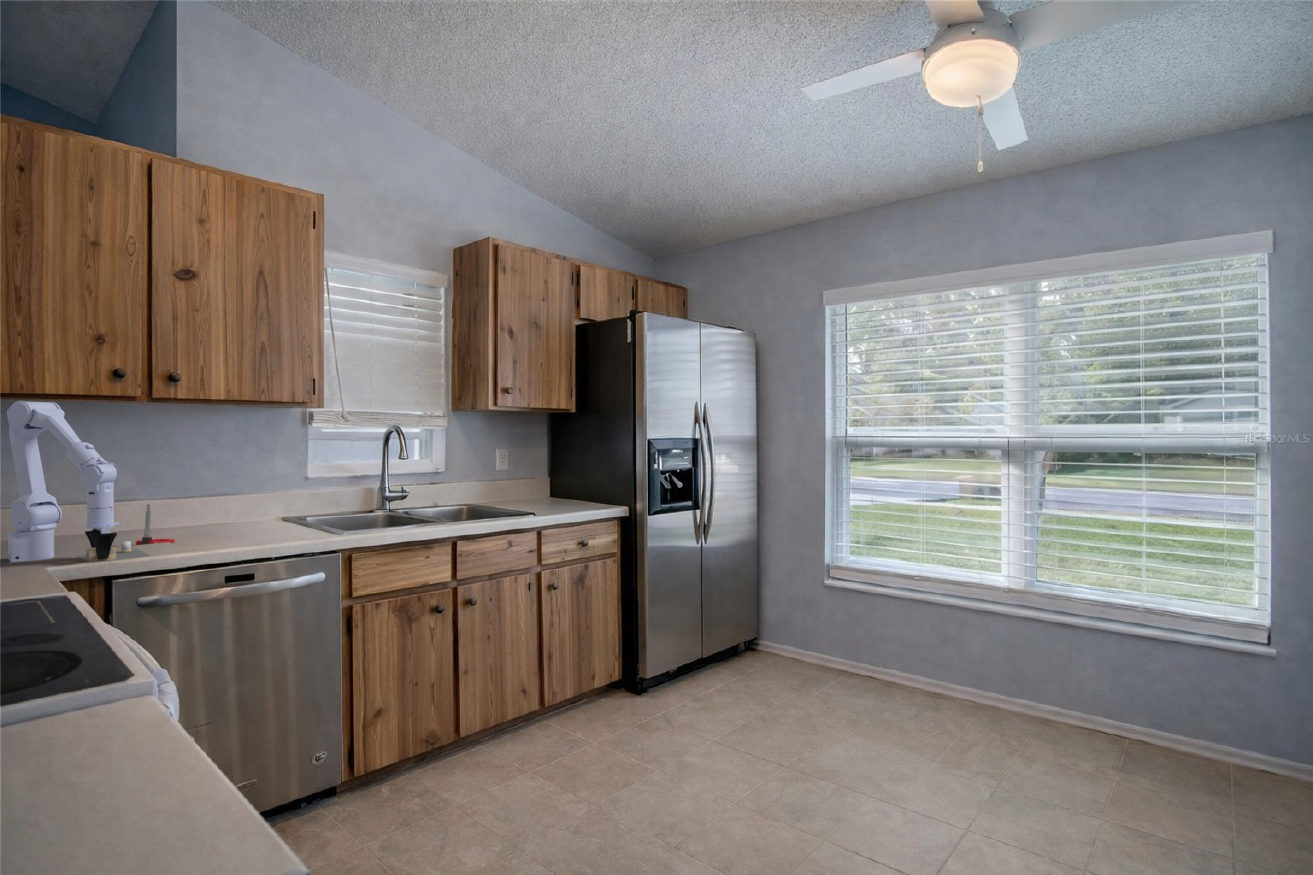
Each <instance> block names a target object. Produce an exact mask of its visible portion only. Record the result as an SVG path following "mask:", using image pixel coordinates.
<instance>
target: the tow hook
mask: <svg viewBox="0 0 1313 875" xmlns="http://www.w3.org/2000/svg"><path fill="white" fill-rule="evenodd" d="M150 508H151V504H149V503H148V504H146V511H145V520H144V521H145V522H144V529H143V537H141V540H140V539H138V540H136V541H135V545H137V546H143V545H152V544H153V545H154V544H162V543H170V544H173V543H175V541H176V540H175V539H173V538H155V539H153V536H151V509H150ZM172 542H173V543H172Z"/></svg>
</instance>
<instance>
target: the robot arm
mask: <svg viewBox="0 0 1313 875" xmlns="http://www.w3.org/2000/svg"><path fill="white" fill-rule="evenodd" d="M6 416H7V421H8V426H9V428H8V436H9V442H10V446H11V452H12V453H11V454H12V457H13V463H14V470H15V474H16V475H15V476H16V480H17V486H18V490H19V497H17V498H16V499H15V500H14V501H13V502H12V503H10V509H11V512H10V516H9V520H10V523H11V525H12V527H13V528H14V529H15V530H14V531H9V532H8V536H7V538H8V541H7V542H8V544H7V546H8V547H7V550H8V552H7V560H8V561H9V562H10V563H17V562H26V561H27V562H29V561H38V560H40V561H41V560H48V559H52V558H54V557H55V528H57V524H59V523H60V522H61V520H62V517H63V511H62V509H61V508H60V506H59V505H58V502H57V498H56V497H55V496H53V495H51V494H49V493H48V491H47V488H46V481H45V477H44V471H43V465H42V458H41V454H40V449H39V448H40V447H39V444H38V442H39V441H38V436H39V435H40V434H41V433H43V432H45V431H46V430H47V431H49V432H50V434H52V436H54V437H55V438H56V439H57V440H58V441H59V442H60V443H61V444H62V445H63V446H64V447H65V448H66V449H67V450H66V456H67V457H68V458H69V460H70V461H71V462H72V463H73V464H74V465H75V466H76V468H77V469H78V470H79V471H80V472H81V474H80V475H79V478H80V480H81V482H82V483H83V485H84V490H85V492H86V524H85V527H86V529H91V530H86V531H84V534H85V536H86V538H87V539H88V541H89V545H90V548H94V547H95V548H96V553H97V557H98V559H108V557H109V554H110V550H111V546H113V543H114V541H115V539H116V537H117V536H118V532H117V531H116V532H112V528H113V527H115V526H119V525H120V522H118V521H116V522H115V507H114V506H115V499H114V498H115V497H114V495H115V494H114V492H115V491H114V487H115V486H114V484H115V483H116V482H117V481H118V479H119V478H120V471H119V468H118V467H117V465H116V464H115V463H113V462H109V461H107V460H105V459H104V457H102V456H101V455H100V453H98V451H97V450H96V449H95V446H94V445H93V444H90V443H89V442H85V441H83V442H82V440H81V439H80V438H79V436H78V435H77V434H76V432H75V431H74V430H73V428H72V426H71V425H70V424H69V423H68V422H67V420H66V419H65V411H64V410H63V409H62V408H61V406H60V405H59V404H58V403H56V402H54V401H46V402H45V401H24V400H18V401H15V402H13V404H11V406H10V407H9V408H8V409H7V411H6Z"/></svg>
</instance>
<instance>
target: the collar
mask: <svg viewBox="0 0 1313 875" xmlns="http://www.w3.org/2000/svg"><path fill="white" fill-rule="evenodd" d="M116 551H117V548H116V547H115V546H113V545H112V546H111V550H110V554H109V557H108V559H98V557H97V553H96V548H95V547H94V548H91V547H85V554H86V560H88V561H89V562H94V563H96V562H95V561H102V562H104V561H103V560H111V561H113V560H112V559H116Z"/></svg>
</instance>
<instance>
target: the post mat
mask: <svg viewBox="0 0 1313 875" xmlns="http://www.w3.org/2000/svg"><path fill="white" fill-rule="evenodd" d="M120 545H121V546H120V548H121V549H120V550H116V559H112V560H103V561H95V562H89V561H88V560H86V553H85V554H77V555H76V556H77V557H78V558H79V559H80V560H82V561H84V562H85V563H86V564H90V563H91V564H92V563H100V562H102V563H103V562H109V561H110V562H111V561H119V560H127V559H137V558H147V557H151V556H152V555H150V554H149V553H146V552H145V551H143V550H141V549H139V548H133V549H132V541H130V540H126V541H121V543H120Z"/></svg>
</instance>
